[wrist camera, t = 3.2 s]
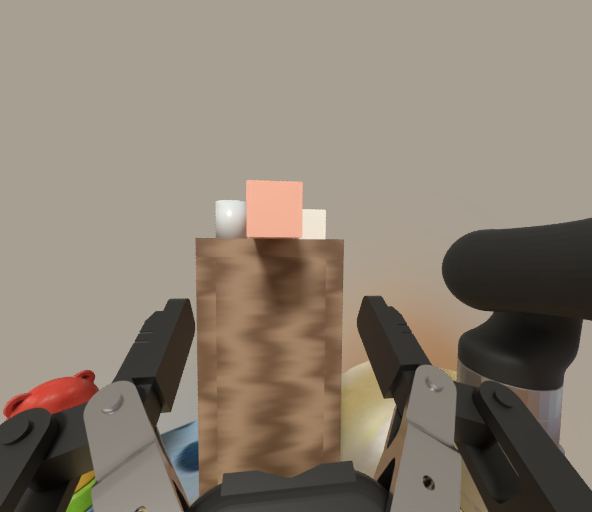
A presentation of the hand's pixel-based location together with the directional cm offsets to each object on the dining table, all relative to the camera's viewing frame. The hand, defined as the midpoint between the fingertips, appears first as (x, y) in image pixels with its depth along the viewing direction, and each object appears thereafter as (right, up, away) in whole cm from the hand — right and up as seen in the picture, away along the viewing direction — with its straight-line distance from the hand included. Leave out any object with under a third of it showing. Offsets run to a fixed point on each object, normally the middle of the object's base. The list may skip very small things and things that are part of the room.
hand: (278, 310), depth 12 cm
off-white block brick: (+3, +5, +24) cm, 24 cm away
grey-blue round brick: (-8, +5, +22) cm, 24 cm away
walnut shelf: (-3, -27, +24) cm, 36 cm away
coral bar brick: (-2, +5, +18) cm, 18 cm away
